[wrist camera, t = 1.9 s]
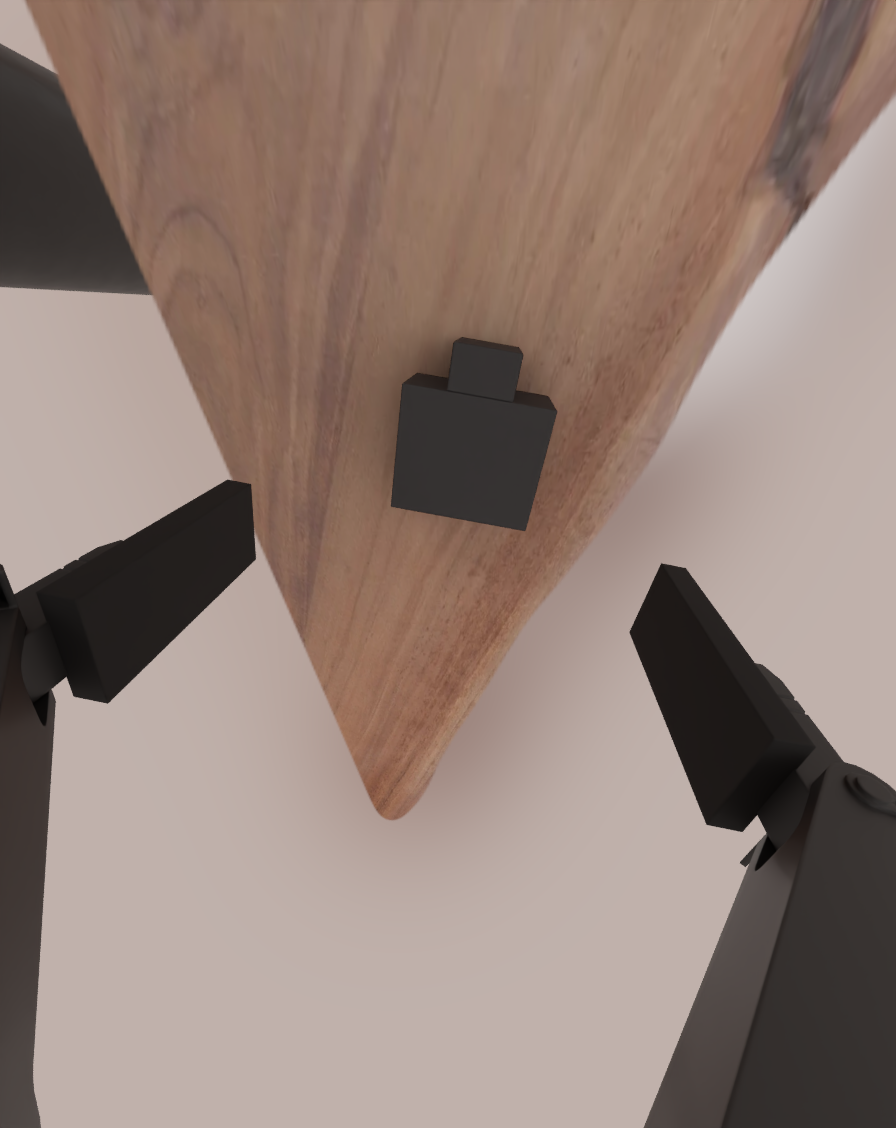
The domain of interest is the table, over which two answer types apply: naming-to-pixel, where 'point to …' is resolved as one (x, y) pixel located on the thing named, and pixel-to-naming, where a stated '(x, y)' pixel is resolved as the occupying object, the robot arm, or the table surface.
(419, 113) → the table surface
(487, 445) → the black block
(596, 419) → the table surface
